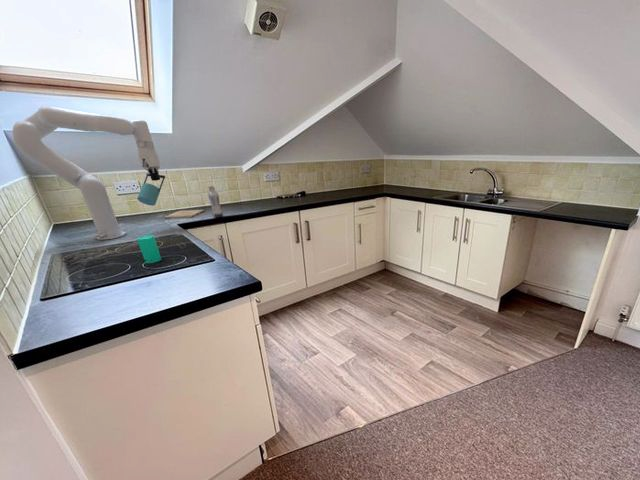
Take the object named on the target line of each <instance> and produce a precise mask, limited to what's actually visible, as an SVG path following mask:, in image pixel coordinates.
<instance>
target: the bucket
mask: <svg viewBox="0 0 640 480" xmlns="http://www.w3.org/2000/svg"><path fill="white" fill-rule="evenodd" d="M148 177H151V176H150V173H149V172H147V173H146V176H145V179H144V181H143V183H142V185H141V187H140V190H139V193H138V195H137V198H136V200H137V201H139V202H140V203H141V204H143V205H147V206H151V207H153V206H156V204H157V201H158V198H159V195H160V192H161V191H162V190H161V189H162V186H163V184H164V181H165V179H166V175H162V174H159V175H157V177H158V178H160V179H162V180H161V182H160V185H159V187H158V186H156V185H154V184H151V183H147V181H148Z"/></svg>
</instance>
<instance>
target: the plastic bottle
mask: <svg viewBox="0 0 640 480" xmlns="http://www.w3.org/2000/svg"><path fill="white" fill-rule="evenodd" d="M207 197H208V200H209V203H210V206H211V215H212V216H213V218H217V219H218V218H222V217H223V216H224V213H223V209H222V207H221V202H220V195H219V193H218V192H217V191H216V187H215V186H208V193H207Z"/></svg>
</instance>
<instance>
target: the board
mask: <svg viewBox="0 0 640 480" xmlns="http://www.w3.org/2000/svg"><path fill="white" fill-rule="evenodd" d="M204 212H205V209H187V210H185V209H183V210H178V211H175V212H173V213H170V214H167V215H165V216H163V218H164V219H188V218H190V219H191V218H194V217H196V216H198V215H200V214H203V213H204Z"/></svg>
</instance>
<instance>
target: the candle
mask: <svg viewBox="0 0 640 480" xmlns="http://www.w3.org/2000/svg"><path fill="white" fill-rule="evenodd" d="M136 240H137V243H138V245H139V246H138V247H139V249H140V251H141V254H142V257H143V260H144V262H145V263H146V264H153V263H158V262H160V261H162V256H161V254H160V251H159V247H158V244H157V241H156V238H155V236H154V234H147V235H145V233H143V236H139V237H137V238H136ZM145 260H146V261H145ZM150 260H152V261H150Z"/></svg>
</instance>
